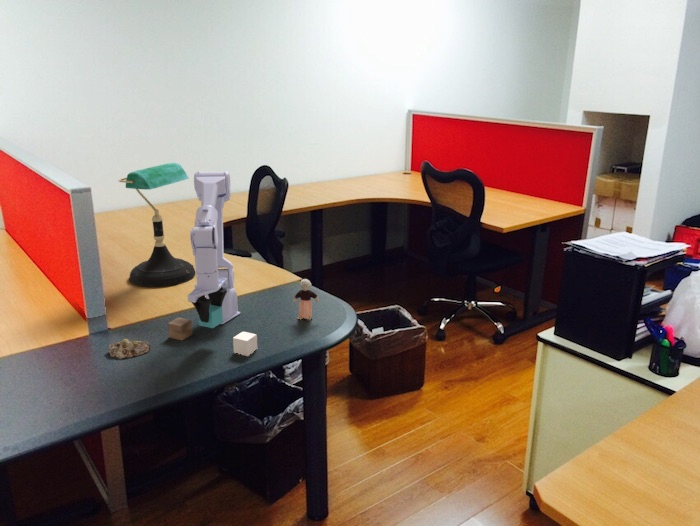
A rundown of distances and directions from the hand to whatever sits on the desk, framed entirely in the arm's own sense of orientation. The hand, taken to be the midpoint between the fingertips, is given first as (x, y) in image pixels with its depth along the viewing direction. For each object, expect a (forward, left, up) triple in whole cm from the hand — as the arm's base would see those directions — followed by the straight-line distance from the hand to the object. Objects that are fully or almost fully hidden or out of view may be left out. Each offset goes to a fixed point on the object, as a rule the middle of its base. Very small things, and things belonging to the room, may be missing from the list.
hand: (210, 318), depth 159 cm
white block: (0, +11, -8) cm, 13 cm away
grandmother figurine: (-26, +15, -8) cm, 31 cm away
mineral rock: (+14, -16, -8) cm, 23 cm away
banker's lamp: (-37, -51, -8) cm, 63 cm away
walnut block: (0, -11, -8) cm, 13 cm away
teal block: (0, 0, -2) cm, 2 cm away
